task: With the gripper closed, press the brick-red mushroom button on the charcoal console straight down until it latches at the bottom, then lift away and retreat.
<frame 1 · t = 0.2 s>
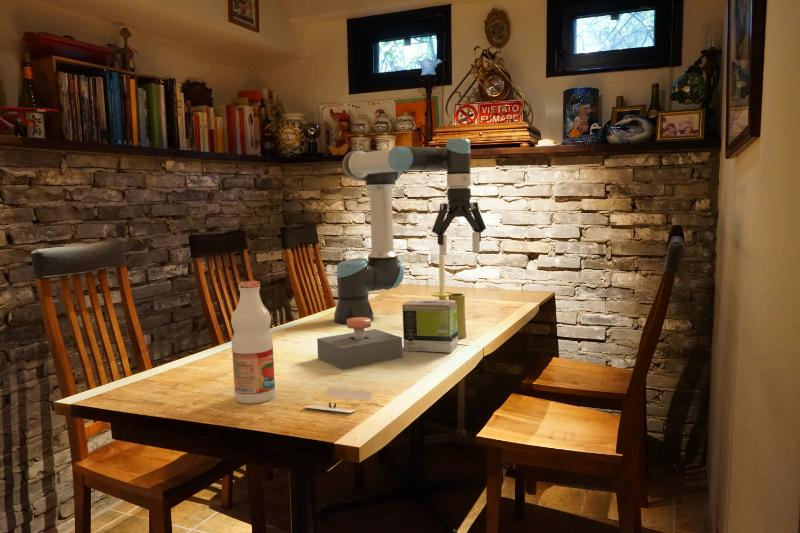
hand: (459, 253, 200), 28 cm above the table, fingers open, 13 cm apart
button: (359, 333, 180), point 8 cm above the table, slide at 0.0 cm
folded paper: (338, 406, 141), on the table
fruit juice: (255, 398, 147), on the table
tea box: (431, 349, 190), on the table
candle: (442, 319, 234), on the table
console: (360, 358, 181), on the table
vase: (457, 337, 205), on the table
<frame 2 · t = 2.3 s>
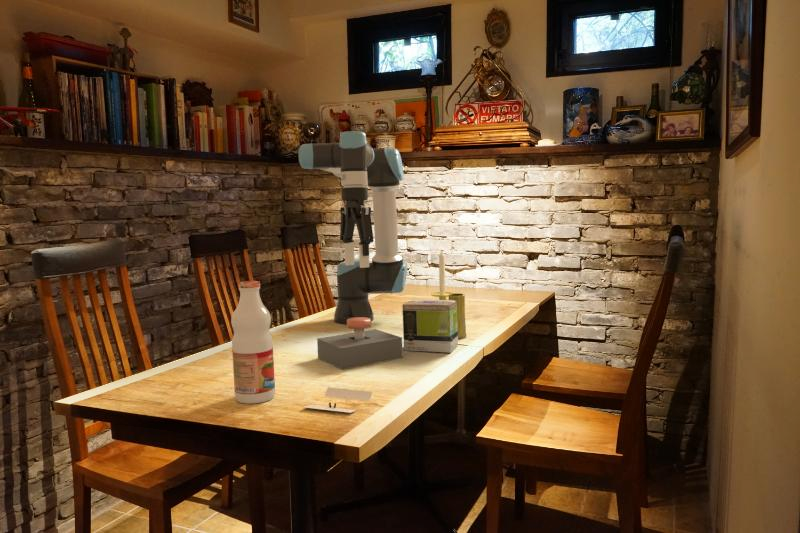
hand: (357, 266, 178), 27 cm above the table, fingers open, 8 cm apart
nothing on the table moved.
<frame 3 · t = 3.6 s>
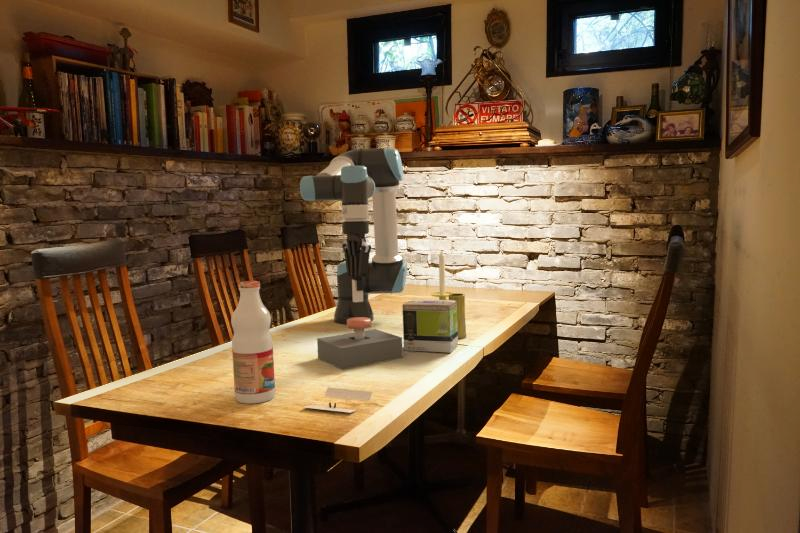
hand: (358, 301, 179), 17 cm above the table, fingers closed
nothing on the table moved.
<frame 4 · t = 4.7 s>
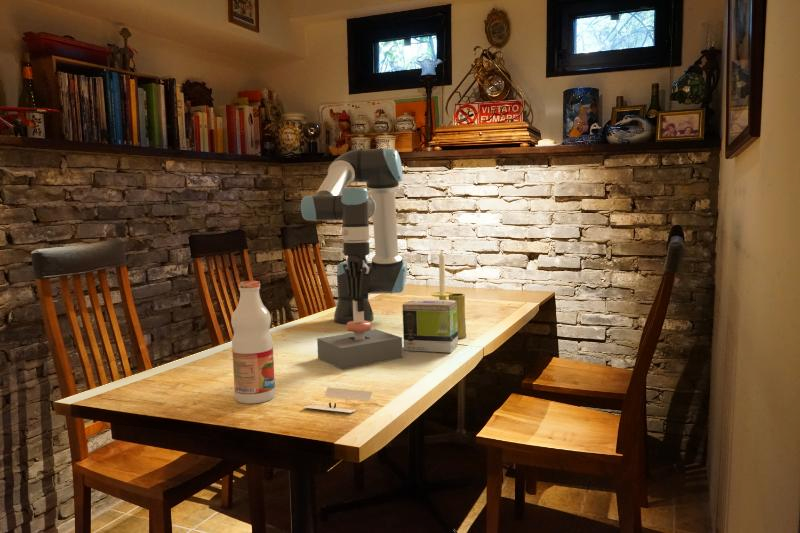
hand: (358, 322, 180), 11 cm above the table, fingers closed
button: (359, 336, 180), point 7 cm above the table, slide at 1.0 cm, touching gripper
everything else where it was.
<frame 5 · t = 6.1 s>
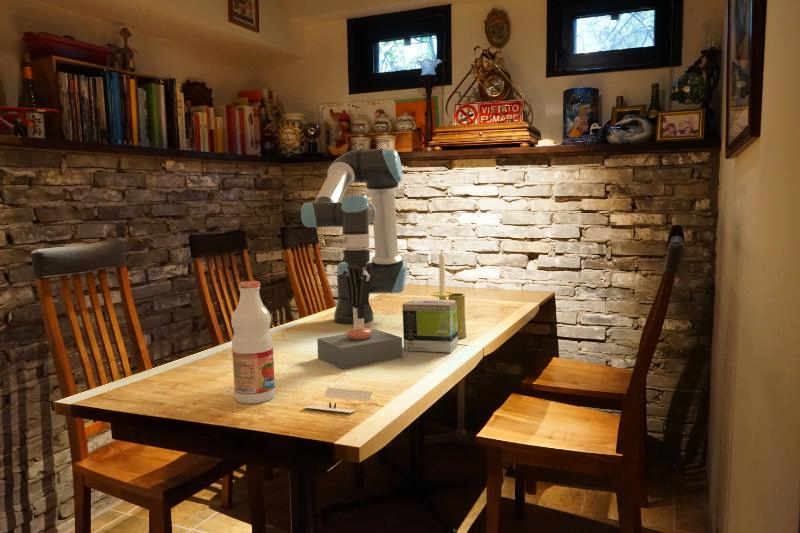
hand: (359, 328, 180), 9 cm above the table, fingers closed
button: (359, 343, 180), point 4 cm above the table, slide at 3.1 cm
everything else where it was.
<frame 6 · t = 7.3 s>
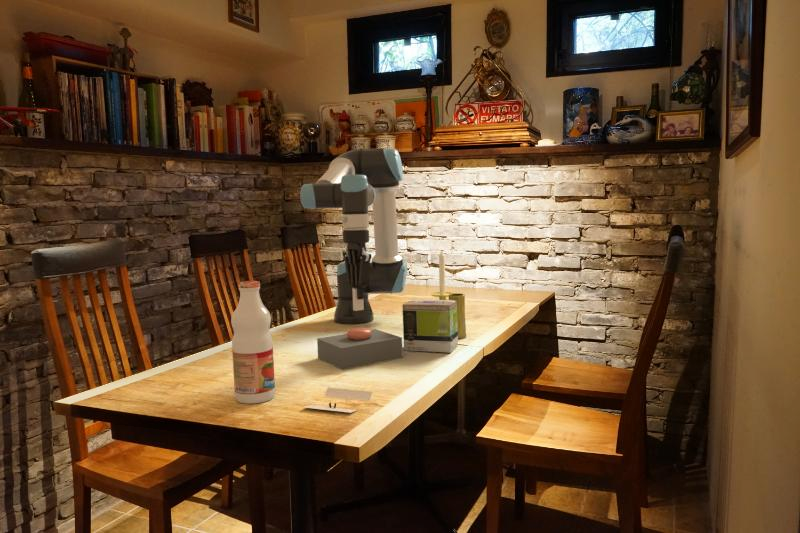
hand: (358, 309, 179), 14 cm above the table, fingers closed
nothing on the table moved.
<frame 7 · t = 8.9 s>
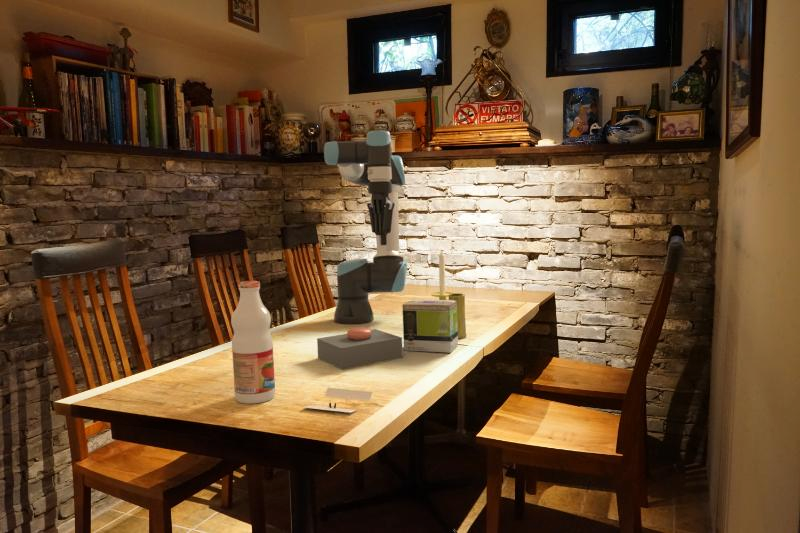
hand: (381, 255, 196), 28 cm above the table, fingers closed
nothing on the table moved.
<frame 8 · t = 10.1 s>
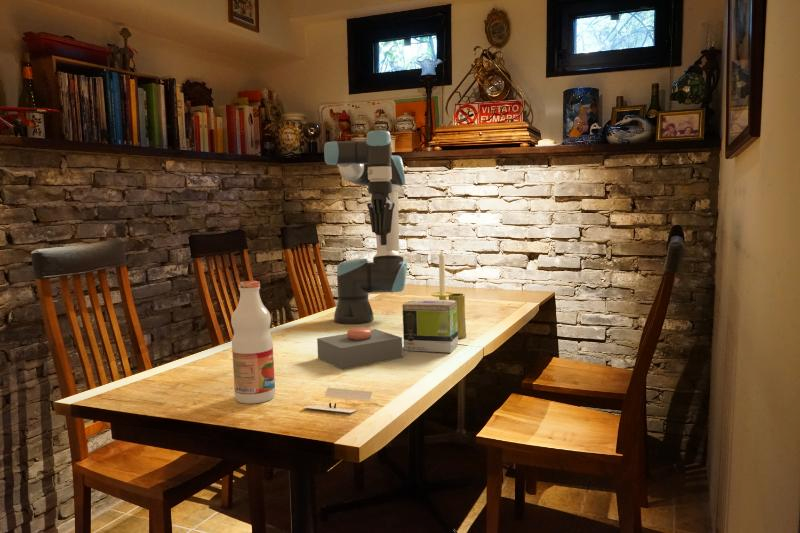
hand: (381, 255, 196), 28 cm above the table, fingers closed
nothing on the table moved.
at the end: button slide at 3.1 cm; tea box moved 0.3 cm from its start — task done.
